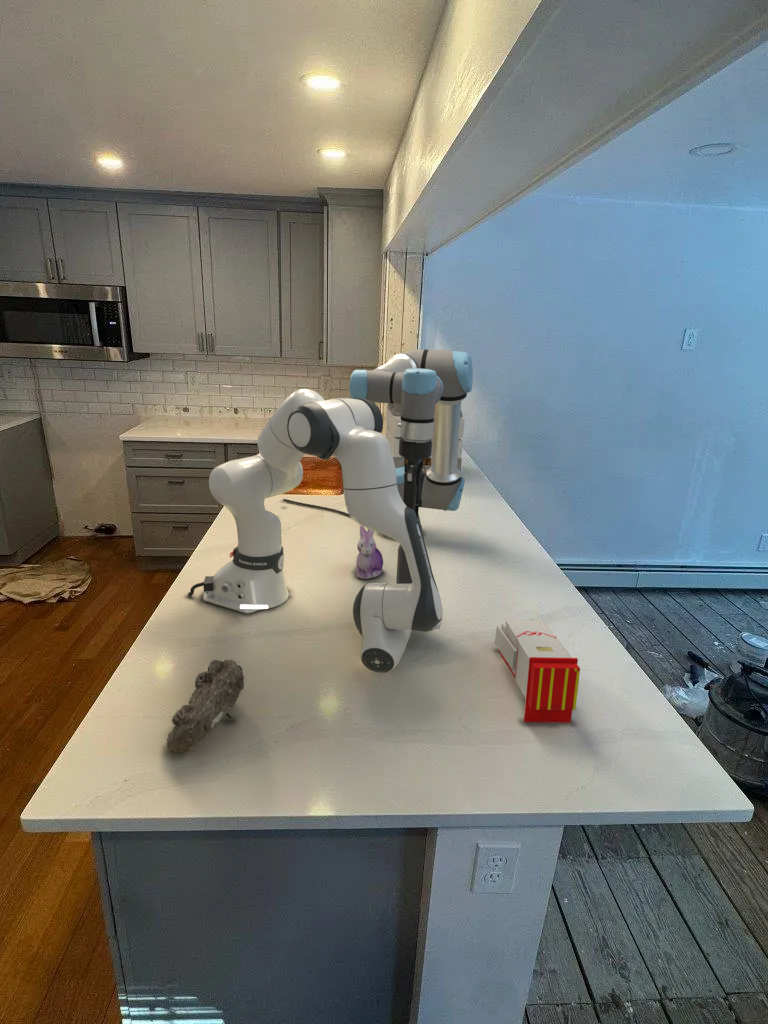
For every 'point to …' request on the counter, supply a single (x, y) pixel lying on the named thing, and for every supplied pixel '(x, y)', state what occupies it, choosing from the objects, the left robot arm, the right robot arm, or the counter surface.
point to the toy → (540, 670)
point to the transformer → (394, 436)
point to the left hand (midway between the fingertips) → (406, 596)
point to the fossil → (206, 705)
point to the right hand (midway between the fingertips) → (409, 534)
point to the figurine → (368, 556)
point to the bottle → (402, 568)
